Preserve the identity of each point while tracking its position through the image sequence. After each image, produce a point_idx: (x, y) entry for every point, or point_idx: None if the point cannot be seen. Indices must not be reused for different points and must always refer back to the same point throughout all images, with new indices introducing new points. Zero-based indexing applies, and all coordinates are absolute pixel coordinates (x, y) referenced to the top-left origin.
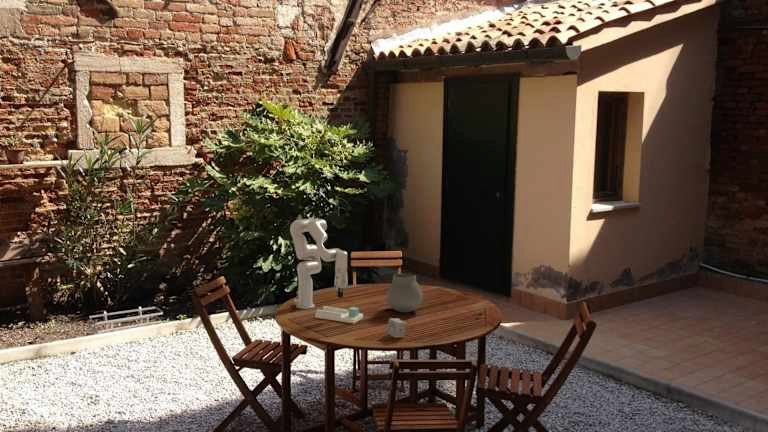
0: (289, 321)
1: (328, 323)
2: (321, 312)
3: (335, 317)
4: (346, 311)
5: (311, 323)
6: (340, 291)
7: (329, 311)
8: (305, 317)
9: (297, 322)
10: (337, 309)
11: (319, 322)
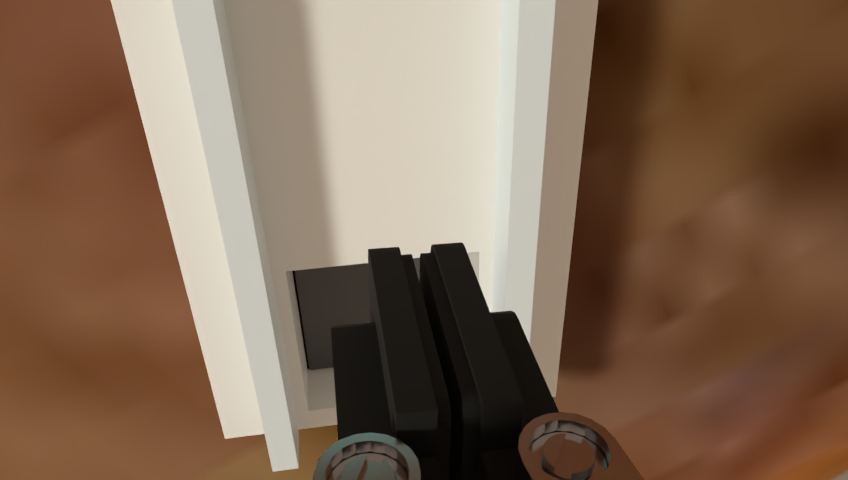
0: (788, 460)
1: (759, 53)
2: None
3: (586, 55)
4: (221, 13)
5: (813, 254)
6: (614, 459)
7: (514, 255)
8: None
9: (806, 390)
10: (258, 229)
11: (743, 194)
